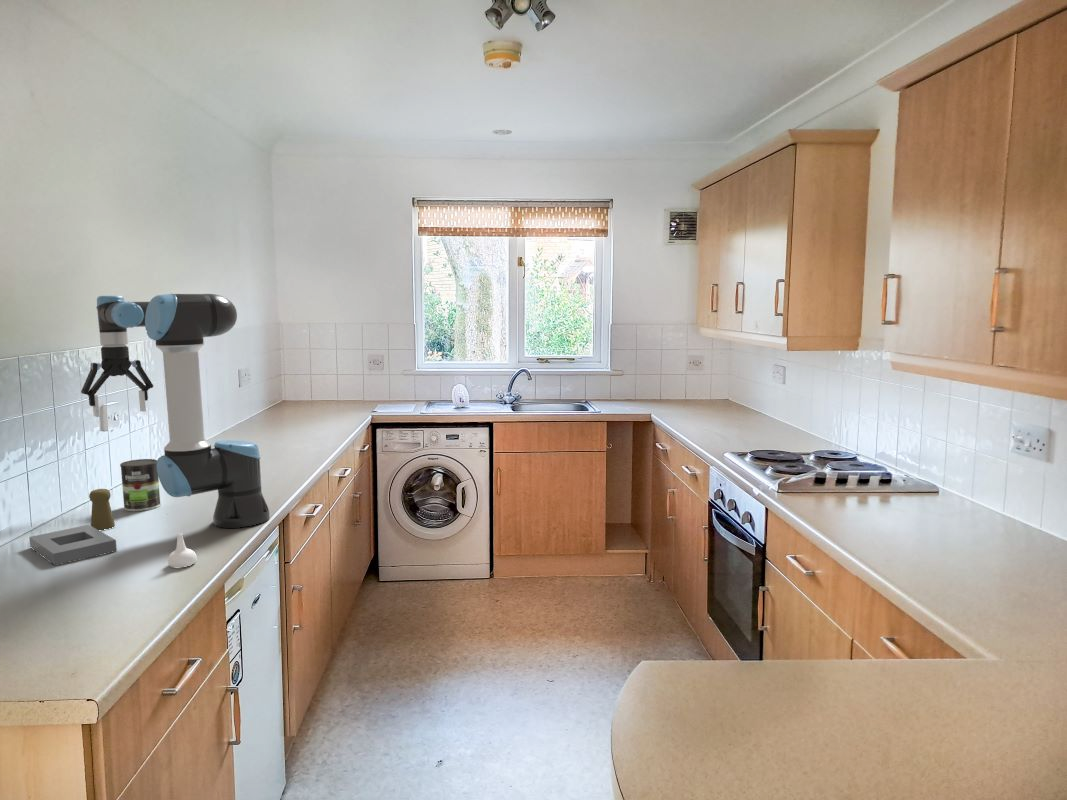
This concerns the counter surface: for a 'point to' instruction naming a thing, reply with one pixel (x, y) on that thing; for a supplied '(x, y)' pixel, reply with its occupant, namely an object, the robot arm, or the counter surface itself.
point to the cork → (101, 509)
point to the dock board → (72, 544)
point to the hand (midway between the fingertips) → (120, 413)
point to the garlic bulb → (182, 554)
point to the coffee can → (140, 484)
